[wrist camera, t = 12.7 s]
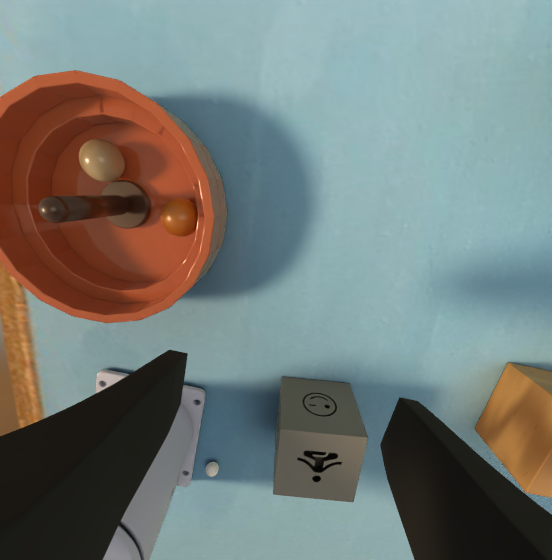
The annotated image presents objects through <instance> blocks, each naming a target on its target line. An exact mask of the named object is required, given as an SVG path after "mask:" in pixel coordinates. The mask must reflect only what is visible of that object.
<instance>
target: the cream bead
mask: <svg viewBox="0 0 552 560" xmlns="http://www.w3.org/2000/svg"><path fill="white" fill-rule="evenodd" d="M79 162H80V165H81V167H82V168H83V170H84V171H85V172H86V173H87V174H88V175H89V176H90V177H91V178H93V179H95V180H97V181H101V182H112V181H115V180H117V179H119V178H120V177H121V176H122V174H123V173H124V170H125V159H124V156H123V154H122V152H121V151H120V150H119V149H118V148H117V147H116V146H115V145H114V144H112V143H111V142H109V141H106V140H103V139H93V140H90V141H88V142H86V143H85V144H84V145H83V146H82V147H81V149H80V152H79Z"/></svg>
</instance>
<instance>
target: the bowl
mask: <svg viewBox="0 0 552 560" xmlns="http://www.w3.org/2000/svg"><path fill="white" fill-rule="evenodd" d="M93 139H103V140H106V141H109V142H111V143H112V144H114V145H115V146H116V147H117V148H118V149H119V150H120V151H121V152H122V154H123V156H124V159H125V170H124V173H123V174H122V176H121V177H120V178H119V179H117V180H128V181H132V182H135V183H137V184H138V185H140V186H141V187H142V188H143V189H144V190H145V191H146V193H147V194H148V196H149V198H150V202H151V213H150V216H149V218H148V220H147V221H146V222H145V223H144V224H143V225H141V226H139V227H135V228H130V229H125V228H120V227H118V226H116V225H114V224H112V223H111V222H110V221H109V220H108V219H107V218H106V217H102V218H94V219H86V220H79V221H71V222H63V223H53V222H49V221H47V220H46V219H44V218H43V217H42V216H41V215H40V213H39V210H38V205H39V203H40V201H41V200H42V199H43V198H45V197H47V196H81V195H101V194H102V191H103V189H104V188H105V187H106V185H108V184H109V183H110V182H101V181H97V180H95V179H93V178H91V177H90V176H89V175H88V174H87V173H86V172H85V171H84V170H83V168H82V167H81V165H80V162H79V152H80V149H81V147H82V146H83V145H84V144H85V143H86V142H88V141H90V140H93ZM174 198H185V199H188V200H190V201H191V202H193V203H194V204H195V205H196V206H197V212H198V219H197V227H196V231H195V232H194V233H193V234H191V235H189V236H185V237H179V236H175V235H172V234H171V233H169V232H168V231H167V230H166V229H165V228H164V226H163V225H162V222H161V217H160V216H161V210H162V208H163V206H164V205H165V203H166V202H168V201H169V200H171V199H174ZM226 220H227V207H226V200H225V193H224V186H223V182H222V178H221V176H220V174H219V172H218V170H217V168H216V166H215V164H214V161H213V159H212V157H211V155H210V153H209V151H208V150H207V148H206V147H205V145H204V144H203V143H202V142H201V141H200V140H199V139H198V138H197V136H196V135H195V134H194V133H193V132H192V131H191V130H190V128H189V127H188V126H187V125H186V124H185V123H184V122H183V121H181V120H180V119H179V118H177V117H176V116H174V115H173V114H172V113H170V112H169V111H168V110H166V109H165V108H163V107H162V106H160V105H159V104H158V103H156V102H154V101H153V100H151V99H150V98H148V97H146V96H145V95H143V94H141V93H140V92H138V91H136V90H135V89H133V88H132V87H130V86H128V85H127V84H125V83H123V82H122V81H119V80H117V79H112V78H108V77H104V76H99V75H95V74H91V73H86V72H82V71H76V70H74V71H67V72H60V73H52V74H45V75H38V76H36V77H35V76H34V77H32V78H31V79H29V80H27V81H26V82H24V83H22V84H21V85H19V86H17V87H16V88H14V89H12V90H11V91H9V92H7V93H6V94H4V95H2V96H1V97H0V261H1V262H2V264H3V265H4V267H5V268H6V269H7V271H8V272H9V274H11V276H12V277H14V278H15V279H16V280H17V281H18V282H19V283H21V284H22V285H23V286H24V287H25V288H26V289H28V290H29V291H30V292H31V293H32V294H33V295H35V296H36V297H37V298H38V299H40V300H41V301H43V302H45V303H47V304H49V305H51V306H53V307H55V308H57V309H59V310H61V311H63V312H65V313H67V314H69V315H71V316H74V317H79V318H84V319H89V320H94V321H98V322H103V323H114V322H126V321H138V320H142V319H144V318H147V317H149V316H151V315H154V314H156V313H158V312H161V311H163V310H165V309H168V308H169V307H171V306H172V305H173V304H174V303H175V302H176V301H177V300H179V299H180V298H181V297H182V296H183V295H184V294H185V293H186V292H187V291H188V290H189V289H190V288H192V287H193V286H194V285H195V284H196V283H197V282H198V281H199V280H200V279H201V278H202V277H203V275H204V274H205V273H206V272H207V271H208V270H209V269H210V267H211V266H212V264H213V262H214V260H215V258H216V256H217V254H218V252H219V250H220V248H221V247H222V244H223V239H224V233H225V227H226Z"/></svg>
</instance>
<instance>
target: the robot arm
mask: <svg viewBox="0 0 552 560" xmlns="http://www.w3.org/2000/svg"><path fill="white" fill-rule="evenodd" d="M186 361H187V353H182V352H178V351H173V350H168V351H167V352H165V353H163V354H162V355H160V356H158V357H157V358H155V359H154V360H152V361H150V362H149V363H147V364H146V365H144V366H143V367H141V368H139V369H138V370H136V371H134V372H133V373H131V374H126V373H121V372H116V371H111V370H106V369H103V370H101V371H100V372H99V373H98V374H97V379H96V394H94V395H92V396H91V397H89V398H87V399H85V400H83V401H81V402H79V403H77V404H75V405H73V406H71V407H69V408H67V409H65V410H63V411H60V412H58V413H56V414H54V415H51V416H49V417H47V418H45V419H43V420H40V421H38V422H36V423H33V424H31V425H28V426H26V427H23V428H21V429H18V430H16V431H13V432H11V433H8V434H5V435H3V436H0V560H149V559H150V556H151V553H152V550H153V548H154V545H155V542H156V540H157V537H158V534H159V532H160V529H161V526H162V523H163V521H164V518H165V515H166V513H167V510H168V507H169V505H170V502H171V499H172V496H173V494H174V491H175V488H176V486H177V485H178V486H183V487H186V486H188V485H190V482H191V479H192V473H193V467H194V461H195V456H196V450H197V444H198V438H199V432H200V426H201V420H202V415H203V409H204V403H205V397H206V393H205V391H204V390H203V389H201V388H197V387H192V386H187V385H183V384H184V376H185V369H186ZM103 381H105V382H106V383H104V382H103ZM196 399H198V400H199V401H200V402H197V401H196ZM380 445H381V451H382V456H383V461H384V466H385V470H386V475H387V479H388V482H389V485H390V488H391V491H392V494H393V497H394V500H395V503H396V506H397V509H398V512H399V515H400V518H401V521H402V524H403V527H404V530H405V533H406V536H407V539H408V541H409V544H410V547H411V550H412V553H413V556H414V559H415V560H552V515H551V514H550V513H549V512H547V511H546V510H545V509H543V508H542V507H541V506H539V505H538V504H537V503H536V502H534V501H533V500H532V499H531V498H529V497H528V496H527V495H526V494H524V493H523V492H522V491H521V490H519V489H518V488H517V487H516V486H515V485H513V484H512V483H511V482H510V481H509V480H507V479H506V478H505V477H504V476H503V475H501V474H500V473H499V472H498V471H497V470H496V469H494V468H493V467H492V466H491V465H490V464H489V463H487V462H486V461H485V460H484V459H483V458H482V457H481V456H479V455H478V454H477V453H476V452H475V451H474V450H473V449H472V448H470V447H469V446H468V445H467V444H466V443H465V442H464V441H463V440H462V439H460V438H459V437H458V436H457V435H456V434H455V433H454V432H453V431H452V430H450V429H449V428H448V427H447V426H446V425H445V424H444V423H443V422H442V421H440V420H439V419H438V418H437V417H436V416H435V415H434V414H433V413H431V412H430V411H429V410H428V409H427V408H426V407H424V406H423V405H422V404H420V403H419V402H418V401H415V400H410V399H405V398H400V397H399V400H398V402H397V405H396V407H395V410H394V412H393V415H392V417H391V420H390V422H389V424H388V427H387V429H386V432H385V434H384V437H383V439H382V442H381V444H380Z"/></svg>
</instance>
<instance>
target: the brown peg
mask: <svg viewBox="0 0 552 560" xmlns="http://www.w3.org/2000/svg"><path fill="white" fill-rule="evenodd" d="M38 210H39V213H40V215H41V216H42V217H43V218H44V219H46V220H47V221H49V222H53V223H63V222H71V221H79V220H86V219H94V218H102V217H106V218H107V219H108V220H109V221H110V222H111V223H112V224H114V225H116V226H118V227H120V228H125V229H130V228H135V227H139V226H141V225H143V224H144V223H145V222H146V221H147V220H148V218H149V216H150V213H151V202H150V198H149V196H148V194H147V193H146V191H145V190H144V189H143V188H142V187H141V186H140V185H138V184H137V183H135V182H132V181H128V180H115V181H112V182H110V183H109V184H108V185H106V187H105V188H104V189H103V191H102V194H101V195H81V196H47V197H45V198H43V199H42V200H41V201H40V203H39V205H38Z"/></svg>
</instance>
